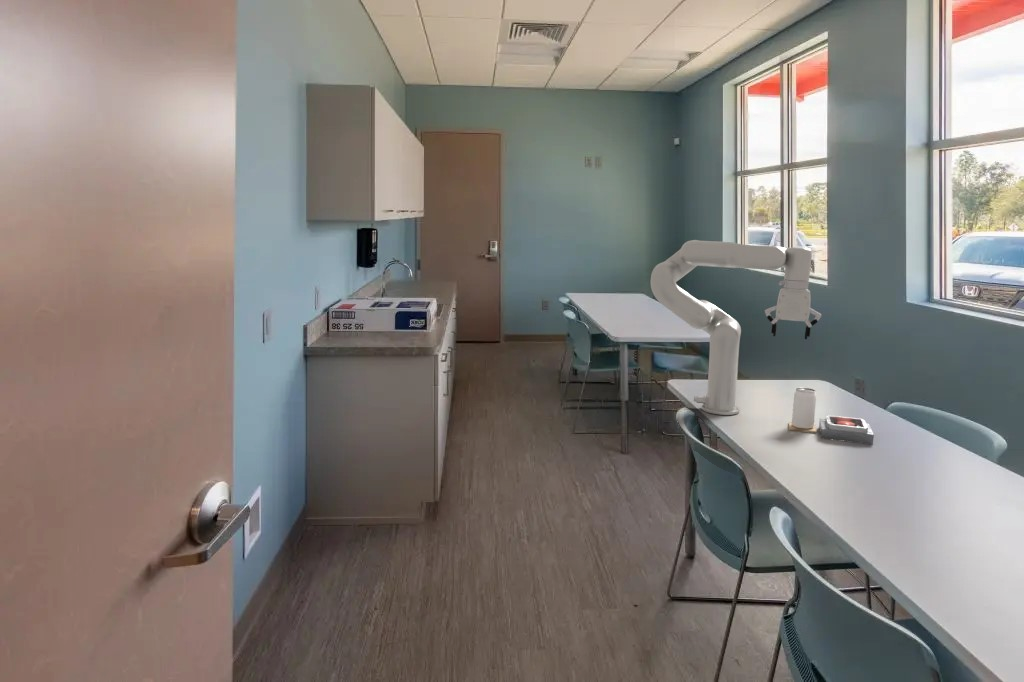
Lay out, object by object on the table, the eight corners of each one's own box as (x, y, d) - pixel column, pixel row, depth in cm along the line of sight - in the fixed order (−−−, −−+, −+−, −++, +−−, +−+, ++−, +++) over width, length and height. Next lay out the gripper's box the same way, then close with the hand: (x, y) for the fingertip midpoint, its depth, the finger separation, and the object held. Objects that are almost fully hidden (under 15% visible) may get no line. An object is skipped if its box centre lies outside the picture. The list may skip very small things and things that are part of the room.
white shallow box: (821, 438, 202) (822, 424, 201) (818, 427, 213) (820, 414, 212) (872, 444, 197) (874, 429, 196) (868, 432, 208) (869, 419, 207)
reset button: (837, 433, 203) (838, 424, 203) (835, 429, 208) (836, 420, 207) (854, 435, 202) (855, 426, 201) (853, 431, 206) (854, 422, 206)
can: (809, 423, 215) (812, 387, 213) (816, 429, 208) (820, 392, 206) (788, 423, 215) (791, 387, 213) (795, 429, 209) (798, 392, 207)
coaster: (788, 430, 210) (789, 428, 210) (788, 423, 217) (788, 421, 217) (816, 433, 207) (816, 431, 207) (815, 426, 214) (815, 424, 214)
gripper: (766, 284, 217) (761, 336, 220) (824, 288, 210) (818, 341, 213) (768, 282, 223) (763, 333, 226) (824, 286, 216) (818, 338, 219)
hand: (790, 337), depth 220 cm, fingers open, 9 cm apart
